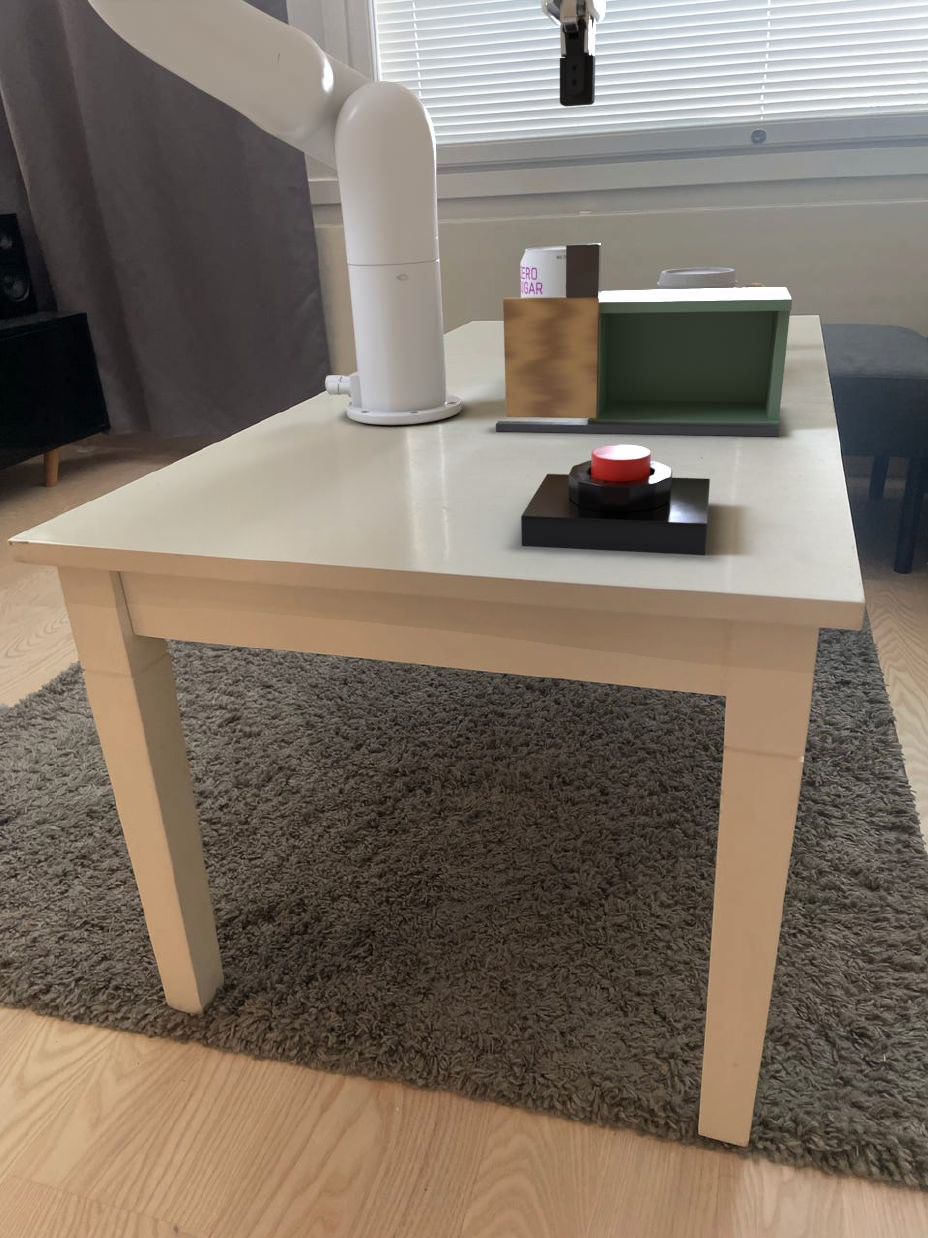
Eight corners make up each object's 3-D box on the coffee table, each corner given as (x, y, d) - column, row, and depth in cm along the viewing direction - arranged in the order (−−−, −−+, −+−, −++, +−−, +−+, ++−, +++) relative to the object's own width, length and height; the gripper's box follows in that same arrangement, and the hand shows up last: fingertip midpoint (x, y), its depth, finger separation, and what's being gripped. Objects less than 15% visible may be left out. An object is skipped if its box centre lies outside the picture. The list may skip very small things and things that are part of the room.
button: (587, 484, 62) (587, 458, 61) (594, 467, 65) (595, 443, 64) (647, 486, 61) (648, 460, 60) (651, 469, 64) (653, 444, 63)
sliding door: (505, 417, 90) (501, 247, 84) (507, 414, 91) (503, 246, 85) (596, 418, 88) (599, 243, 81) (597, 416, 89) (600, 243, 82)
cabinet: (495, 431, 91) (491, 305, 86) (518, 406, 101) (516, 292, 96) (779, 436, 85) (793, 300, 79) (773, 409, 94) (785, 287, 89)
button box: (521, 546, 61) (520, 489, 60) (547, 501, 70) (546, 450, 68) (704, 556, 58) (709, 496, 57) (707, 507, 67) (711, 453, 65)
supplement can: (594, 366, 121) (597, 245, 115) (567, 377, 115) (567, 250, 109) (540, 363, 125) (540, 245, 119) (511, 374, 119) (508, 250, 113)
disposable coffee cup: (716, 381, 109) (724, 274, 104) (641, 376, 114) (645, 274, 109) (740, 367, 116) (748, 267, 111) (668, 363, 121) (673, 267, 116)
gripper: (551, -103, 89) (552, 112, 96) (521, -151, 76) (524, 102, 83) (629, -113, 87) (623, 107, 95) (612, -164, 74) (606, 96, 82)
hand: (577, 104), depth 89 cm, fingers closed
